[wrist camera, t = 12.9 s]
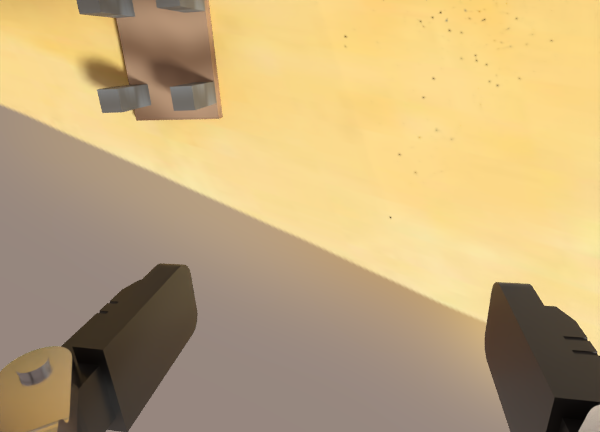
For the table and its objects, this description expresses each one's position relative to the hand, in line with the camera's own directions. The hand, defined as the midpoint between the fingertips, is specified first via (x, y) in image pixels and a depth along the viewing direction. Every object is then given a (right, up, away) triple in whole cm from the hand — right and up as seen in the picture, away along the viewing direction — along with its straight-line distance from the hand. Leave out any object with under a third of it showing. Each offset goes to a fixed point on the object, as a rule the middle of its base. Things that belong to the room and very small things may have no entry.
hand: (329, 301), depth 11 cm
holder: (-13, +18, +28) cm, 36 cm away
